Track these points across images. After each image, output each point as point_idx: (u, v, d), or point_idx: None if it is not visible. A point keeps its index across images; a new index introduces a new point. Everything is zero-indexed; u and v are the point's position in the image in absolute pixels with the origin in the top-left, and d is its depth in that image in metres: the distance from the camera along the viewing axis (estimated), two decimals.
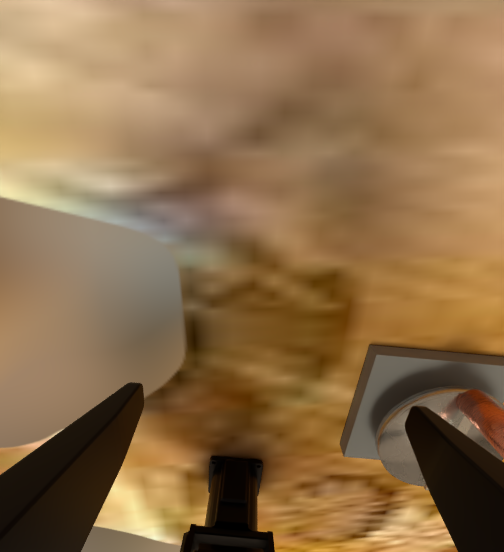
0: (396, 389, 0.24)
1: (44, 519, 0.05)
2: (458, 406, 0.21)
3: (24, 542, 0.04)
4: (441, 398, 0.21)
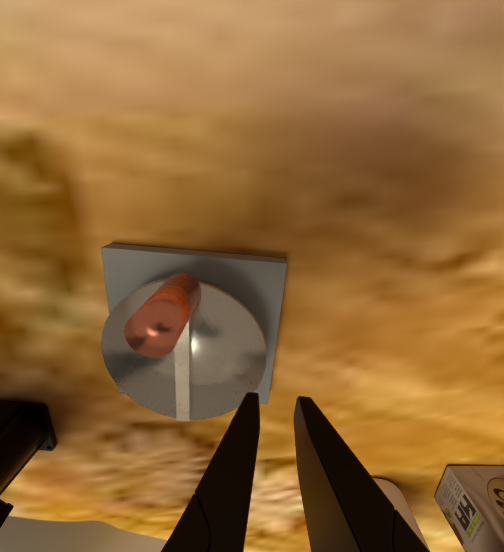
0: None
1: (245, 534, 0.05)
2: None
3: None
4: (147, 289, 0.16)
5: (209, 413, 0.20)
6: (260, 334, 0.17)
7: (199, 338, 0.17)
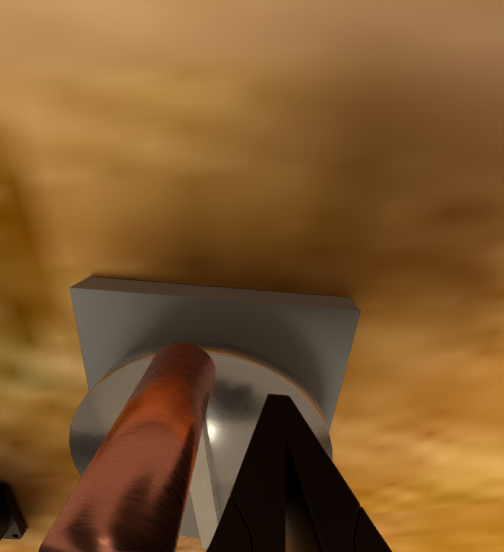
0: None
1: None
2: None
3: None
4: (126, 372, 0.10)
5: None
6: (320, 419, 0.10)
7: (221, 434, 0.11)
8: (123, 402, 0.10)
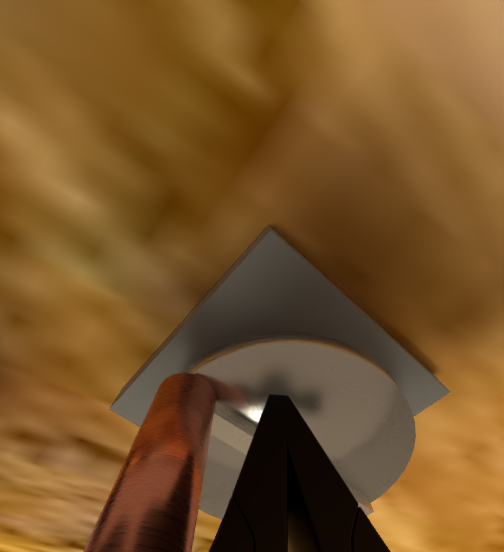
0: (263, 326, 0.13)
1: None
2: None
3: None
4: None
5: (387, 480, 0.12)
6: (331, 351, 0.10)
7: None
8: None
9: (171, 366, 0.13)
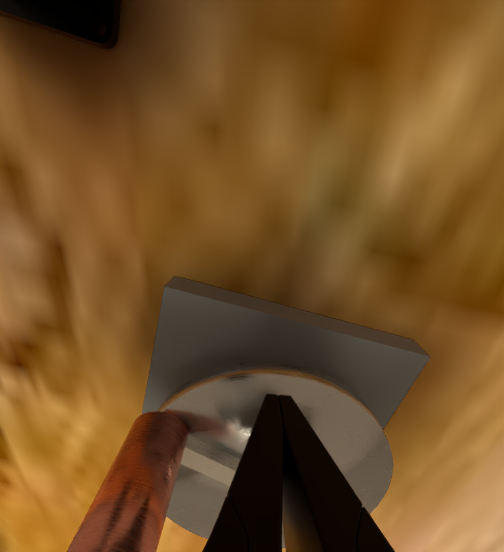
0: None
1: None
2: None
3: None
4: None
5: (373, 498, 0.12)
6: (289, 380, 0.10)
7: None
8: None
9: (259, 329, 0.12)
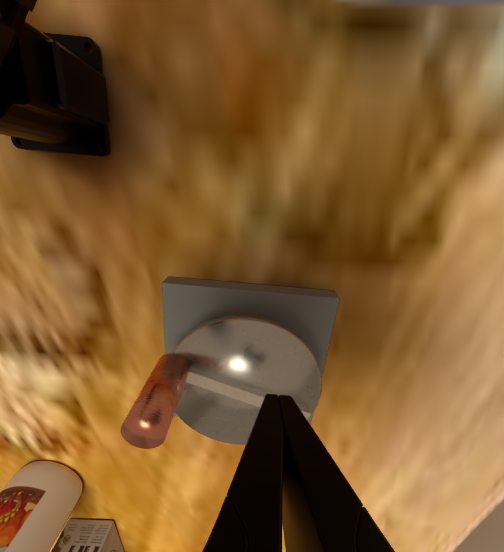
0: None
1: None
2: None
3: None
4: None
5: (315, 392, 0.19)
6: (238, 321, 0.17)
7: (225, 371, 0.18)
8: (184, 399, 0.19)
9: (225, 299, 0.20)
